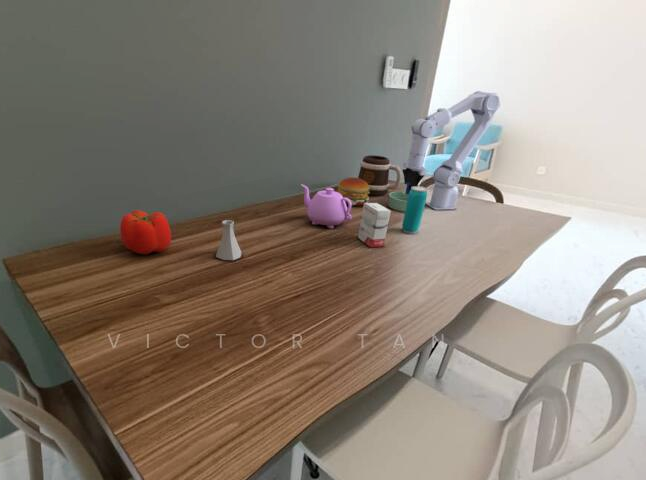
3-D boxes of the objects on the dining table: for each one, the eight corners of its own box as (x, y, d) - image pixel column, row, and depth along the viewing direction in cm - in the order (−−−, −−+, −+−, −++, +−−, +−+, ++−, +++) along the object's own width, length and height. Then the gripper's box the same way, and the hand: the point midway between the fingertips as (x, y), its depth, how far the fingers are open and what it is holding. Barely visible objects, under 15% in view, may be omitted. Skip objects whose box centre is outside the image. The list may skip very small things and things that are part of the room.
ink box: (384, 246, 124) (391, 210, 118) (370, 248, 122) (377, 211, 116) (370, 236, 131) (376, 201, 125) (357, 237, 129) (363, 202, 123)
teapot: (289, 221, 138) (291, 187, 132) (307, 211, 149) (309, 179, 143) (342, 234, 131) (347, 198, 125) (356, 222, 142) (362, 188, 135)
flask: (245, 253, 113) (245, 220, 108) (234, 263, 108) (234, 228, 102) (223, 248, 115) (222, 215, 110) (211, 258, 109) (209, 223, 104)
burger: (336, 196, 169) (338, 172, 164) (367, 199, 168) (371, 175, 162) (334, 206, 157) (337, 180, 152) (368, 209, 156) (373, 184, 151)
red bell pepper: (112, 254, 108) (106, 217, 103) (143, 237, 119) (139, 203, 113) (154, 263, 104) (150, 226, 99) (182, 246, 115) (179, 211, 110)
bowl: (412, 202, 168) (414, 191, 166) (429, 212, 157) (431, 201, 154) (381, 202, 165) (383, 191, 163) (396, 213, 154) (399, 202, 151)
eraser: (413, 191, 159) (415, 182, 158) (417, 194, 156) (419, 185, 155) (399, 191, 158) (401, 182, 156) (404, 194, 155) (405, 185, 153)
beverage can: (416, 229, 139) (426, 186, 132) (419, 235, 134) (430, 191, 127) (400, 227, 140) (409, 185, 132) (402, 233, 135) (412, 189, 127)
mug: (349, 192, 175) (354, 157, 168) (359, 185, 187) (364, 152, 179) (394, 200, 168) (401, 164, 161) (401, 193, 180) (408, 159, 172)
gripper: (399, 149, 155) (392, 184, 162) (417, 157, 143) (409, 194, 150) (415, 150, 156) (407, 184, 163) (434, 157, 144) (425, 194, 151)
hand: (409, 189), depth 157 cm, fingers closed on eraser, 3 cm apart
